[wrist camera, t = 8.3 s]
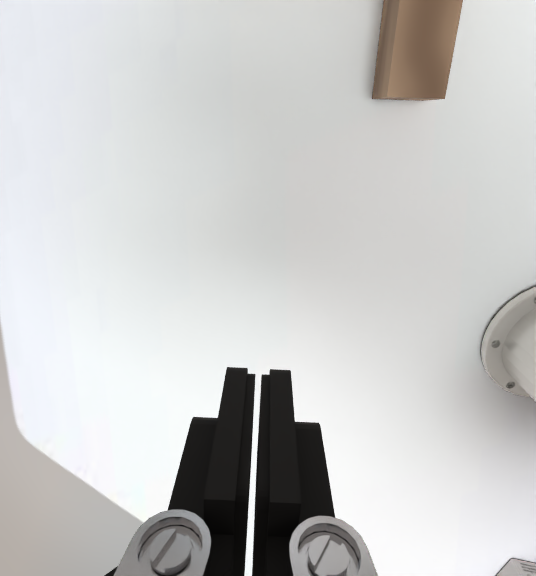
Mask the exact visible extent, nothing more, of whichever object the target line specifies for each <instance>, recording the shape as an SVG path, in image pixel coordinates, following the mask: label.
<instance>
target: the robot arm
mask: <svg viewBox="0 0 536 576" xmlns="http://www.w3.org/2000/svg"><path fill="white" fill-rule="evenodd" d="M481 355H482V362H483V365H484V368H485V370H486V372H487V373H488V374H489V376H490V377H491V378H492V380H493V381H494V382H495V383H496V384H497V385H498V386H499V387H501V388H502V389H504V390H505V391H507V392H510V393H513V394H515V395H519V396H525V397H532V398H533V400H534V401H535V402H536V287H533V288H531V289H529V290H527V291H525V292H523V293H521V294H520V295H518V296H517V297H515V298H514V299H512V300H511V301H509V302H508V303H507V304H506V305H505V306H504V307H503V308H502V309H501V310H500V311H499V312H498V313H497V314H496V316H495V317H494V318H493V319H492V321H491V323H490V324H489V326H488V328H487V330H486V332H485V335H484V338H483V341H482V348H481ZM247 373H248V368H232V367H227V370H226V375H225V381H224V387H223V392H222V398H221V404H220V409H219V415H218V418H203V417H193V418H192V421H191V424H190V428H189V432H188V435H187V439H186V443H185V447H184V451H183V454H182V458H181V462H180V466H179V470H178V473H177V477H176V481H175V485H174V488H173V492H172V496H171V500H170V504H169V507H168V511H164V512H160V513H158V514H156V515H154V516H153V517H151V518H149V519H148V520H147V521H146V522H145V523H143V524H142V525H141V526H140V527H139V529H138V530H137V532H136V533H135V534H134V536H133V538H132V540H131V541H130V543H129V545H128V547H127V549H126V551H125V554H124V556H123V558H122V560H121V562H120V564H119V566H117V567H116V568H115V569H113V570H112V571H110V572H109V573H108V574H106V575H105V576H244V572H245V555H246V538H247V521H248V504H249V487H250V469H251V451H252V431H253V410H254V390H255V374H247ZM252 576H378V575H377V572H376V569H375V567H374V564H373V561H372V559H371V556H370V553H369V551H368V548H367V546H366V544H365V542H364V541H363V539H362V537H361V536H360V535H359V533H358V532H357V531H356V530H355V529H354V528H353V527H352V526H350V525H349V524H347V523H346V522H344V521H342V520H340V519H337V518H335V514H334V508H333V502H332V496H331V489H330V483H329V477H328V471H327V465H326V458H325V452H324V446H323V440H322V434H321V428H320V424H319V423H309V422H295V420H294V407H293V394H292V381H291V371H290V370H273V369H270V375H262V380H261V397H260V415H259V433H258V450H257V472H256V496H255V520H254V545H253V569H252Z"/></svg>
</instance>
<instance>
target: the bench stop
mask: <svg viewBox="0 0 536 576" xmlns="http://www.w3.org/2000/svg"><path fill="white" fill-rule="evenodd" d="M462 2H463V0H384V3H383V11H382V20H381V28H380V36H379V45H378V53H377V61H376V70H375V78H374V87H373V95H372V99H391V100H421V101H424V100H436V99H445V95H446V89H447V84H448V78H449V73H450V67H451V62H452V57H453V51H454V46H455V40H456V35H457V29H458V24H459V19H460V13H461V8H462Z"/></svg>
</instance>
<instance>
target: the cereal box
mask: <svg viewBox="0 0 536 576" xmlns="http://www.w3.org/2000/svg"><path fill="white" fill-rule="evenodd" d="M497 576H536V564H535V563H531V562H526V561H522V560H518V559H510V561H509V562H508V563H507V564H506V565H505V566H504V567H503V569H502V570H501V571H500V572H499V573H498V574H497Z"/></svg>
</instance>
